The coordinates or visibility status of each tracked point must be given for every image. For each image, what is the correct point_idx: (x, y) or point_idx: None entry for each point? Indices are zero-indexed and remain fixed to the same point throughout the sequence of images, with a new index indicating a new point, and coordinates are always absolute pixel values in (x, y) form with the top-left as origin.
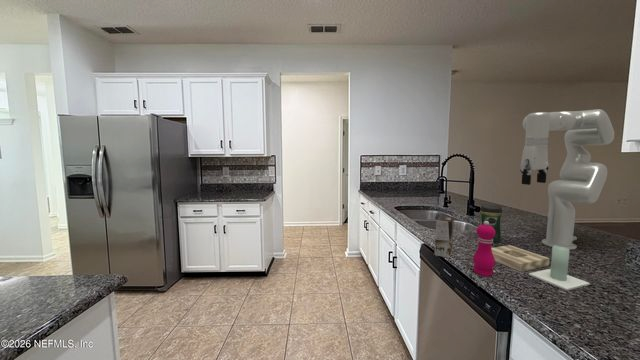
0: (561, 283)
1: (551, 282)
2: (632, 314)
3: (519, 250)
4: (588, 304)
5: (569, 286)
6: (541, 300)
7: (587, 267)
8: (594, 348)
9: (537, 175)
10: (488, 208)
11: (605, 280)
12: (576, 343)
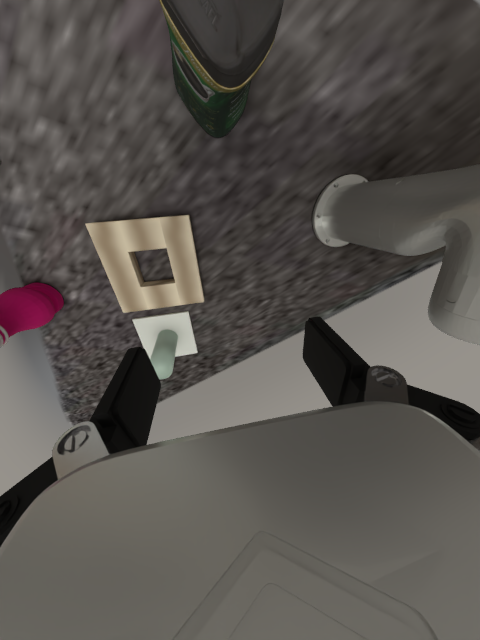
0: None
1: (143, 346)
2: (173, 394)
3: (180, 254)
4: None
5: None
6: (92, 372)
7: (258, 312)
8: None
9: (334, 354)
10: (173, 2)
11: (232, 344)
12: (70, 419)
